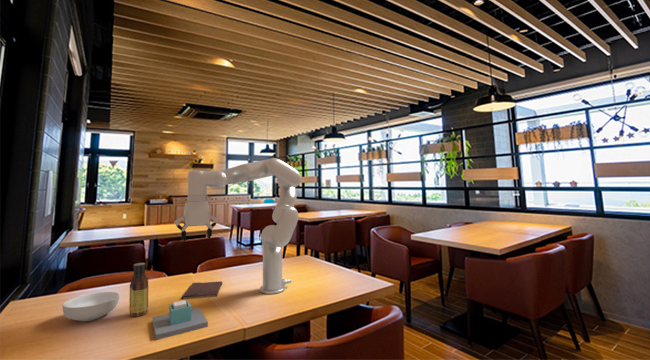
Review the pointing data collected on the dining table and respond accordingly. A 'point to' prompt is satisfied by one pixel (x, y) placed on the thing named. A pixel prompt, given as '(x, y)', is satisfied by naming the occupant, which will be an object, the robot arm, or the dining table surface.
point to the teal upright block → (179, 314)
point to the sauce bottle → (138, 291)
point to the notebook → (202, 290)
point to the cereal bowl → (90, 306)
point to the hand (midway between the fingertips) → (196, 239)
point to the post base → (166, 329)
